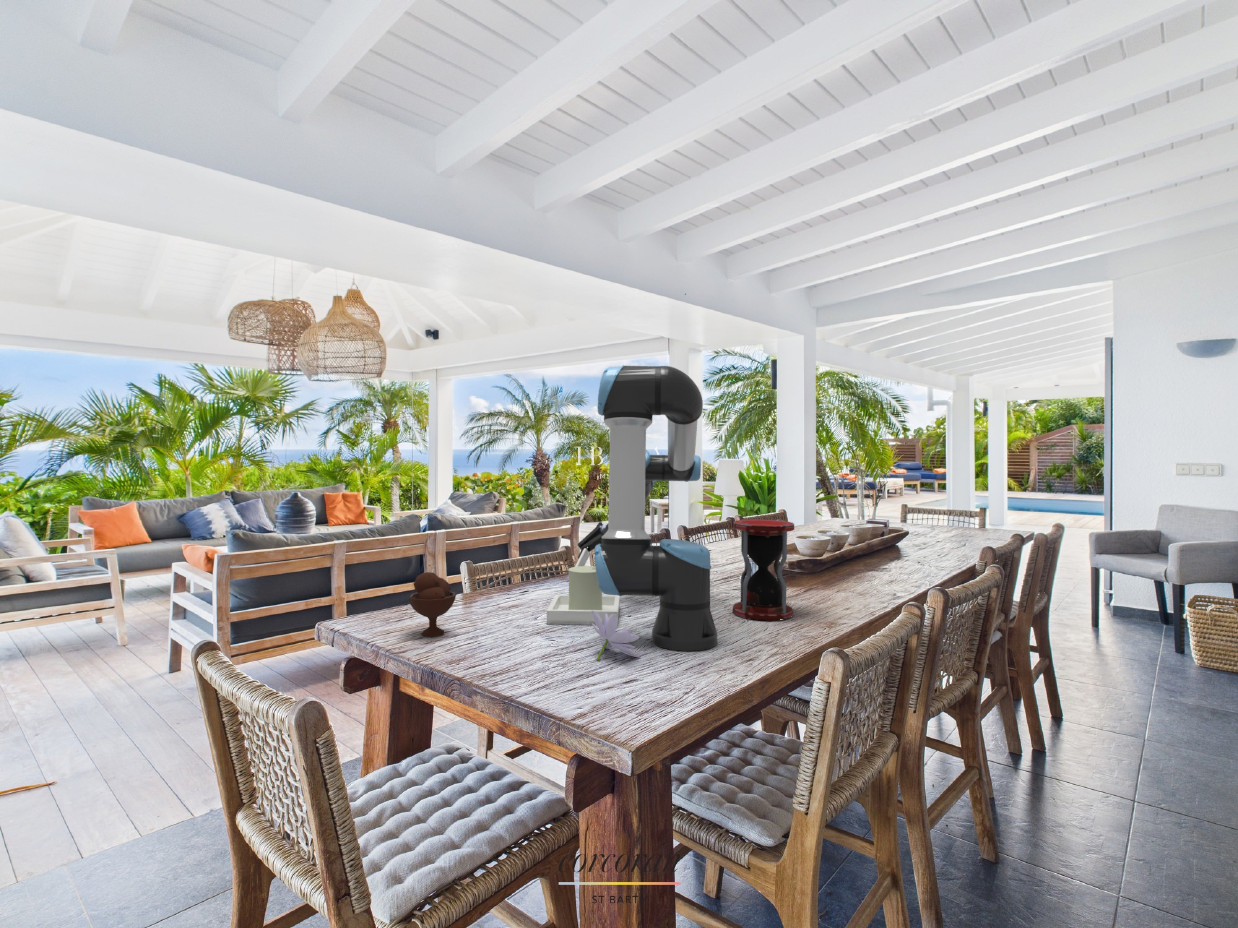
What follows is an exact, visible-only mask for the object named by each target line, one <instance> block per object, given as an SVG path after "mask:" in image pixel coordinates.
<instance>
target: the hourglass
mask: <svg viewBox="0 0 1238 928" xmlns="http://www.w3.org/2000/svg"><path fill="white" fill-rule="evenodd" d="M733 528H734V530H738V531H741V536H740V537H741V538H740V539H741V540H740V543H741V545H740V548H741V549H740V552H741V555H742V558H743V562H744V570H743V571H742V572H741V576H740V601H739V602H736V603H734V604H733V605H732V613H733V615H735V616H737V617H739V618H742V619H746V618H748V619H747V620H751V619H756V620H755V621H759V620H766V621H765V622H772V621H771V620H780V619H786V620H788V619H787V618H789V619H791V618H792V617H793V616H794V609H793V608H792V607H791V606H790V605H788V604H787V583H786V581H785V579H784V577H783V567H784V565H785V564H786V562H787V558H788V533H789V532H793V531H794V530H795V523H794V522H791V521H786V520H781V519H780V520H778V519H759V518H758V519H754V518H753V519H737V520H735V521H733ZM750 559H751V560H752V561H753V563H754V564H755V565H756V566H757V568H758V569H757V570H756V571H755V572H754V573H753V568H752V564H751V562H750V561H751V560H750ZM772 564H773V571H774V573H775V575H776V577H777V578H776V577H775V575H774V574H772V572H771V571H770V570H769V567H770V566H771V565H772ZM752 573H753V574H752ZM791 616H792V617H791ZM767 620H768V621H767ZM780 621H781V620H780Z"/></svg>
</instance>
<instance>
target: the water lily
mask: <svg viewBox="0 0 1238 928" xmlns="http://www.w3.org/2000/svg"><path fill="white" fill-rule="evenodd" d="M592 615H593V618H594V621H595V623H596V625H594V624H593V623H592V625H591V626H592V627H593V629H594V631H595V632H596V633H597V634H598V636H599V637H601V638H602V639H603V640H601V645H602V647H601V650H600V651H599V653H598V655H597V657H596V661H599V662H600V660H601V658H602V656H603V653H604V650H605V649H606V650H609V649H611V647H613V648H615V649H617V651H620V652H621V653H624V654H626V655H628V656H631V657H634V658H638V659H640V658H641V657H640V656H639V655H638V653H636V652H635V651H634V650H632V649H636V646H633V645H631V644H627V643H632V642H635V641H637V640H639V639H640V636H639V635H637V634H634V633H632V629H631V628H623V629H620V630H617V628H618V625H617V618H616V615H615V614H612V615H611V616H610V617H609V618H608V615H607V614H605V619H604V625H603V623H602V620H601V618H600V616H599V614H598V613H597V612H596V613H595V612H594V611H593V610H592Z"/></svg>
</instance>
